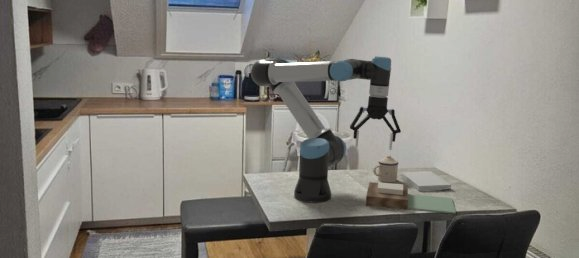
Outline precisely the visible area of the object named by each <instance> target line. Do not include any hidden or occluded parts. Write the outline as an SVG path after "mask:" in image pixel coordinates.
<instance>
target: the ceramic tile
mask: <svg viewBox="0 0 579 258" xmlns="http://www.w3.org/2000/svg"><path fill="white" fill-rule="evenodd" d="M377 183H378V190H377V193H388V194H399V195H403V185H404V184H401V183H387V182H382V181H378V182H377Z"/></svg>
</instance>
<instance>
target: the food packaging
mask: <svg viewBox="0 0 579 258" xmlns="http://www.w3.org/2000/svg"><path fill="white" fill-rule="evenodd" d="M400 176H401V177H402V179H403V182H405V183H406V184H408V185H410V186H411V187H412V188H413V189H415V190H417V191H418V192H435V191H444V190H451V187H452V184H451V183H449V182H447V181H446V180H445V179H443V178H442V177H440V176H439V175H437V174H435V173H434V172H432V171H431V170H429V171H426V170H425V171H424V170H423V171H405V172H404V171H403V172H400Z"/></svg>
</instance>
